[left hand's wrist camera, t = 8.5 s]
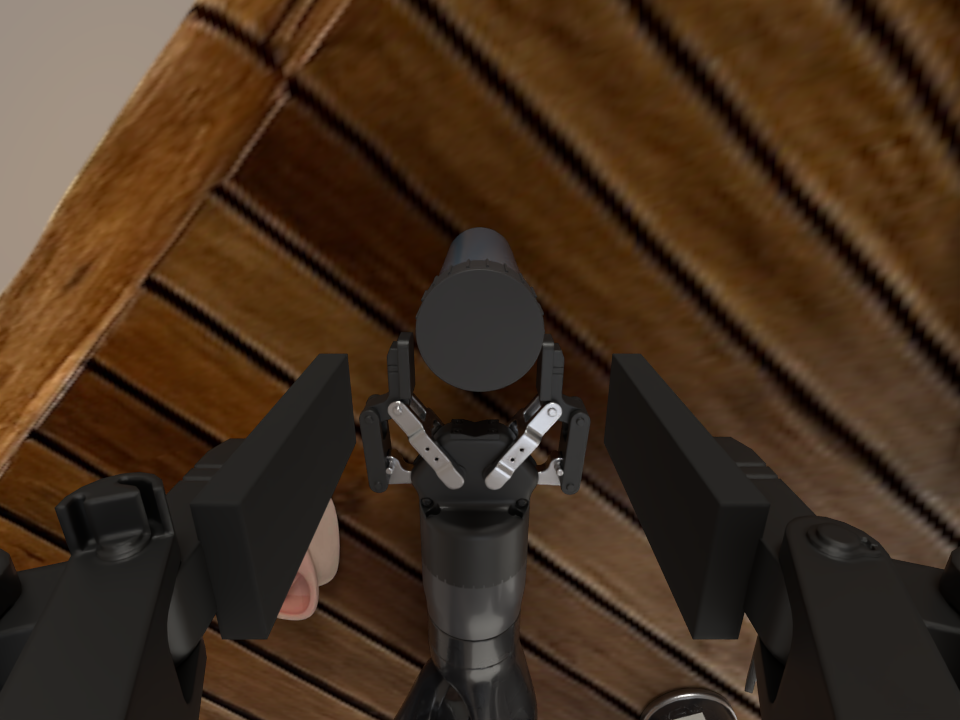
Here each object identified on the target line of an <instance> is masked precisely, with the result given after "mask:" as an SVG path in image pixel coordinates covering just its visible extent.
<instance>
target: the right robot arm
mask: <svg viewBox="0 0 960 720" xmlns="http://www.w3.org/2000/svg"><path fill="white" fill-rule="evenodd" d="M387 365H388V366H387V367H388V383H389V392H388V393H386V394H383V395H377V394H375V395H372V396H370V397H369V398H368V400H367V402H366V406H365V408H364V410H363V411H362V412H361V414H360V417H359V421H360V428H361V434H362V441H363V447H364V454H365V460H366V467H367V473H368V480H369V486H370V488H371V489H372V490H373V491H374V492H377V493H381V492H384V491H385V490H386V489H387V487H388V484H404V483H412V484H413V486H414V487H415V489H416V490H417V492H418V495H419V503H420V527H421V552H422V575H423V587H424V592H425V596H426V601H427V609H428V640H429V648H430V653H431V658H430V659H429V660H428V661H427V663H426V664H425V665H424V667H423V668H422V670H421V671H420V673H419V675H418V677H417V679H416V680H415V682H414V684H413V686H412V688H411V690H410V692H409V694H408V696H407V697H406V699H405V701H404V703H403V705H402V706H401V708H400V710H399V711H398V713H397V715H396V716H395V718H394V720H537V702H536V696H535V691H534V687H533V684H532V680H531V677H530V673H529V670H528V666H527V663H526V659H525V655H524V652H523V649H522V646H521V644H520V641H519V634H520V612H521V601H522V597H523V593H524V588H525V580H526V563H527V544H528V525H529V505H530V496H531V493H532V491H533V490H534V488H535V487H536V486H537V484H544V485H560V486H561V489H562V491H563V492H564V493H565V494H568V495H571V494H575V493H576V492H577V491H578V490H579V488H580V482H581V476H582V469H583V463H584V457H585V451H586V445H587V439H588V433H589V427H590V418H589V415H588V413H587V411H586V408H585V406H584V404H583V402H582V400H581V399H580V398H579V397H568V396H565V395H563V394H562V384H563V370H564V368H563V367H564V357H563V354H562V351H561V349H560V346H559V344H558V343H554V341H553V338H552V336H551V334H544V339H543V344H542V348H541V351H540V353H539V355H538V359H537V379H536V388H537V392H538V394H537V395H536V396H535V397H534V398H533V399H532V400H531V401H530V403H529V404H528V405H527V406H526V407H525V408H522V409H520V410H519V411H518V412H517V413H516V414H515V415H514V417H513V418H512V419H511V420H510V421H509V422H508V423H507V424H506V425H504V424H501V423H499V420H483V421H478V422H472V421H468V420H464V419H452V422H451V423H448V424H446V425H444V424H443V422H442V421H441V420H440V419H439V418H438V417H437V415H436V414H435V413H434V412H433V411H432V410H431V409H430V408H427V407H425V406H424V405H423V403H422V402H421V401H420V400H419V399H418V398H417V397H416V395H415V394H414V393H413V391H414V387H415V367H414V342H413V332H401V334H400V336H399V338H398V340H397V341H393V343H392V345H391V347H390V350H389V352H388V355H387ZM389 419H393V420H394V421H395V422H396V423H397V424H398V425H399V426H400V428H401V429H402V430H403V431H404V432H405V433H406V434H407V436H408V439H409V442H410V443H411V445H412V446H413V447H414V448H415V449H416V450H417V452H418V453H419V455H418V456H417V458H416V459H415V460H414V462H413V464H408V463H406V462H405V461H404V460H403V458H402V455H401V454H400V453H399V452H398V450H396V449H393V450H392V448H391V440H390V432H389V425H388V420H389ZM557 420H559V421H562V428H561V435H560V442H559V449H558V451H553V452H552V453H551V454H550V455H549V456H548V459H547V461H546V462H545V463H544V464H542V465H537V464H536V462H535V460H534V459H533V458H532V456H531V455H530V454H531V453H532V452H533V450H534V449H535V448H536V447H537V446H538V445H539V443H540V441H541V438H542V436H543V435H544V434H545V433H546V431H547V430H548V429H549V428H550V427H551V426H552V425H553V424H554V423H555V422H556V421H557ZM640 720H737V718H736V716H735V714H734V711H733V709H732V707H731V705H730V704H729V702H728V701H727V700H726V699H725V698H724V697H722V696H721V695H719V694H717V693H715V692H713V691H709V690H705V689H698V688H688V689H680V690H676V691H672V692H669V693H666V694H664V695H662V696H660V697H658V698H657V699H655V700H654V701H652V702H651V703H650V704H649V705H648V706H647V707H646V708H645V710H644V711H643V713H642V715H641V717H640Z"/></svg>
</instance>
